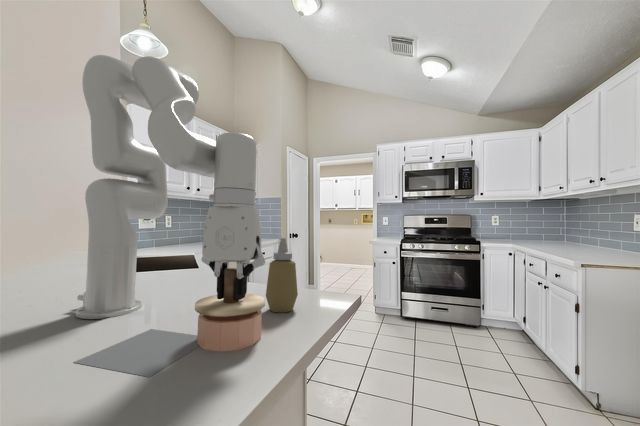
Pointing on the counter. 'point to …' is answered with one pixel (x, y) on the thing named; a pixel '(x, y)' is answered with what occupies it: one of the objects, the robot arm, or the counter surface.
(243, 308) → the lid
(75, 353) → the counter surface
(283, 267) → the squeeze bottle
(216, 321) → the bowl
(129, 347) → the mat
